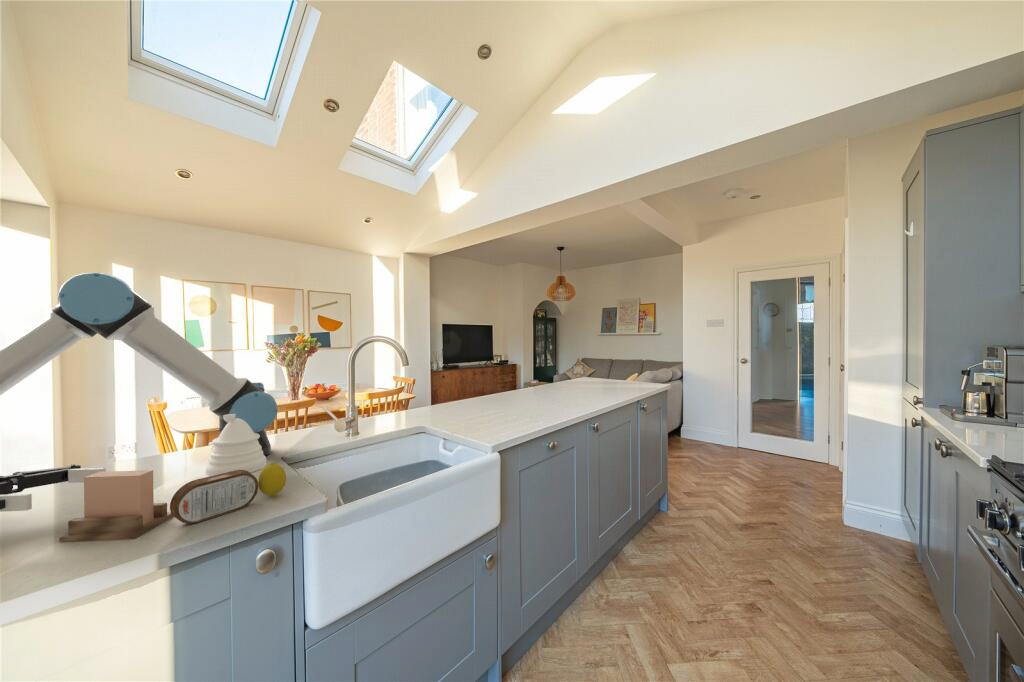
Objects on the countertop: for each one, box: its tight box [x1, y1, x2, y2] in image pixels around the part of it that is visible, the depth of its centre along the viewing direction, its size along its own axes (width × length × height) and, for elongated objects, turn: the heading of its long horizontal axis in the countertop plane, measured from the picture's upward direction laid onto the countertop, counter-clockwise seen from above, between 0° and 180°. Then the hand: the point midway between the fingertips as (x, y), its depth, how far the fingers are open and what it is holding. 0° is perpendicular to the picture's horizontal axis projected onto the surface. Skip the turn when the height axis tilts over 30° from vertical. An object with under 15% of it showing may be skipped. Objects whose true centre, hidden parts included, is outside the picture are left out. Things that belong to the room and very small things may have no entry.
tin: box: [169, 470, 259, 524], centre depth 81 cm, size 15×3×8 cm, turn 146°
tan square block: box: [83, 469, 155, 525], centre depth 75 cm, size 10×3×10 cm, turn 95°
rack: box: [58, 502, 174, 543], centre depth 75 cm, size 13×9×3 cm
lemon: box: [258, 462, 287, 498], centre depth 90 cm, size 6×6×8 cm
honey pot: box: [204, 414, 267, 480], centre depth 99 cm, size 13×13×18 cm
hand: (70, 487), depth 75 cm, fingers open, 13 cm apart
